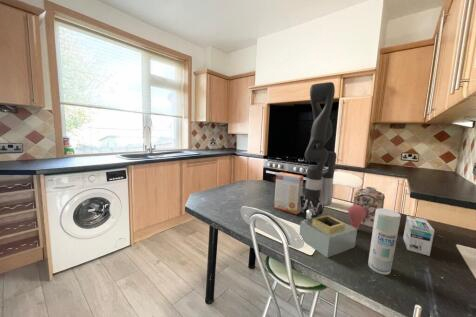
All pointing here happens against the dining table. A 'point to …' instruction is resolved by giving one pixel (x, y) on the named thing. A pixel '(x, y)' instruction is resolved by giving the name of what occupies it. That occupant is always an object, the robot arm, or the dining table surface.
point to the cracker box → (288, 192)
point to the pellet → (309, 213)
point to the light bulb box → (418, 235)
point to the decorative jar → (369, 203)
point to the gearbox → (328, 235)
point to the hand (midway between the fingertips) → (309, 218)
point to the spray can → (383, 240)
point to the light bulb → (356, 215)
